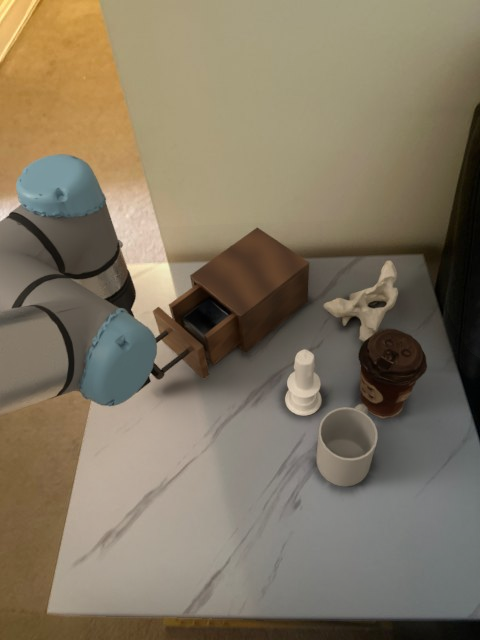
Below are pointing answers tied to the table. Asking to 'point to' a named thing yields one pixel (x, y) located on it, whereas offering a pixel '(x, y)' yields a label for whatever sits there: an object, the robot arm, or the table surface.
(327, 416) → the cup
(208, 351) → the drawer
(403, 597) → the table surface
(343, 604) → the table surface
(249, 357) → the table surface
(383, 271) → the bone
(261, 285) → the cabinet
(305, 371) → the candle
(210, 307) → the tray
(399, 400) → the coffee cup
